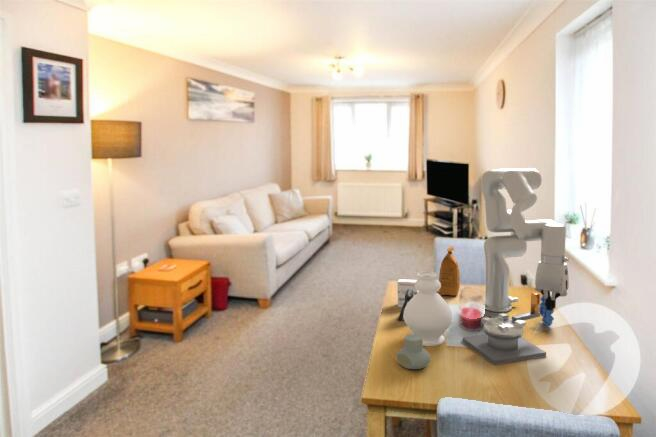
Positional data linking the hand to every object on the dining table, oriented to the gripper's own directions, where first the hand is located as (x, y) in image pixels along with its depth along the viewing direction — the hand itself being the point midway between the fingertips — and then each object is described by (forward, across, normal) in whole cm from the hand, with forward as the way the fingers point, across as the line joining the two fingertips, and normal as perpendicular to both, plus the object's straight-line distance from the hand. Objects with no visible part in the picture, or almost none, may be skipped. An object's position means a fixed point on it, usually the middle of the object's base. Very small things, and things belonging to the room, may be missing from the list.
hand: (550, 309), depth 175 cm
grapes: (+13, +9, -17) cm, 24 cm away
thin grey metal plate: (+13, +10, +14) cm, 22 cm away
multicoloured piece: (+7, +9, +9) cm, 15 cm away
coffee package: (+13, +58, -28) cm, 65 cm away
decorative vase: (+13, +35, +24) cm, 44 cm away
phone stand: (+13, +52, +12) cm, 55 cm away
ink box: (+13, +62, -1) cm, 63 cm away
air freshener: (+13, +26, +45) cm, 54 cm away
